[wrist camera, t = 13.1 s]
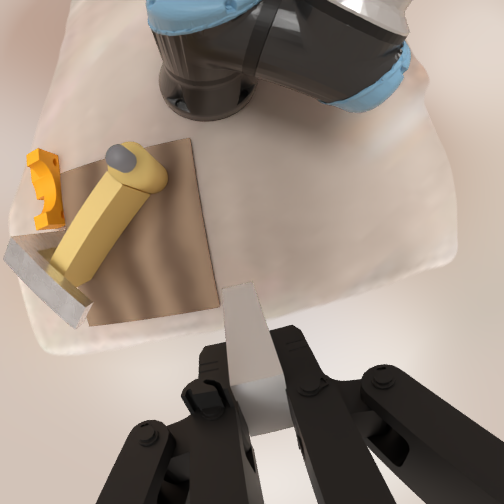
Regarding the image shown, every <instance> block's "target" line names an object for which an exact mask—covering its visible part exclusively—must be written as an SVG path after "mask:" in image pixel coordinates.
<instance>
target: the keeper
mask: <svg viewBox="0 0 504 504" xmlns="http://www.w3.org/2000/svg"><path fill="white" fill-rule="evenodd" d="M65 233H66V231H57V232H47V233H38V234H29V235H21V236H13V237H11V238H10V241H9V244H8V247H7V250H6V252H5V255H4V258H3V260H4V261H5V262H6V263H7V264H8V265H9V267H10V268H11V269H12V270H13V271H14V272H15V273H16V274H17V275H18V277H19V278H20V279H21V280H22V281H23V282H24V283H25V284H26V285H27V286H28V287H29V288H30V289H31V290H32V291H33V292H34V293H35V294H36V295H37V296H38V297H39V298H40V299H41V300H42V301H43V302H44V303H45V304H47V305H48V306H49V307H50V308H51V309H52V310H53V311H54V312H55V313H56V314H58V315H59V316H60V317H61V318H62V319H63V320H64V321H66V322H67V323H68V324H69V325H70V326H71V327H73V328H74V329H76V328H78V327H79V326H80V325H81V324H82V323H83V322H84V320H85V318H86V316H87V314H88V312H89V310H90V308H91V306H92V304H93V301H92V300H91V299H89V298H88V297H87V296H86V295H85V294H83V293H82V292H81V291H80V290H79V289H77V288H76V287H75V286H74V285H73V284H72V283H70V282H69V281H68V280H67V279H66V278H65V277H64V276H63V275H61V274H60V273H59V272H58V271H57V270H56V269H55V268H54V267H53V266H52V265H51V264H50V263H49V262H50V260H51V258H52V256H53V254H54V253H55V251H56V249H57V247H58V245H59V243H60V242H61V240H62V238H63V236H64V235H65Z"/></svg>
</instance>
